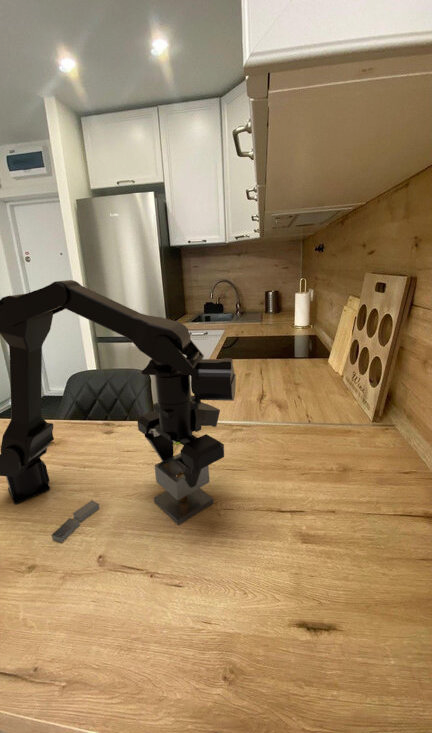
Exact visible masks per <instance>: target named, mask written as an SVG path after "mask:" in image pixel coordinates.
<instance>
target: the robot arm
mask: <svg viewBox="0 0 432 733" xmlns="http://www.w3.org/2000/svg"><path fill="white" fill-rule="evenodd" d="M64 310H67V311H69V312H72V313H74V314H76V315H78V316H80V317H82V318H84V319H86V320H89V321H90V322H93V323H95V324H97V325H99V326H101V327H104V328H105V329H108V330H110V331H111V332H114V333H116V334H118V335H121V336H122V337H124V338H126V339H128V340H129V341H130V342H132V344H134V345H135V347H136V348H137V349H138V350H139V352H142V353H143V354H144V355H145V356H147V357H148V358H150V359H149V362H148V363H147V365H146V366H145V367H144V368H143V369H142V370H141V372H140V373H141V374H142V375H143V376H154V380H155V382H154V383H155V391H156V403H153V404H152V409H153V411H151V412H148V413H145V414H142V415H140V417H139V418H138V420H137V428H138V429H137V430H138V431H139V432H140V433H142V434H143V435H144V438H145V439H146V440H147V441H148V443H149V444H150V445H151V447H152V448H153V450H154V451H155V453H156V455H157V456H158V457H159V459H160V460H161V462H162V461H165V460H167V459H169V458H171V457H173V456H174V444H173V442H174V443H177V442H180V443H181V444H180V445H182V447H181V450H180V453H181V459H178V462H179V465H180V467H181V469H182V471H183V473H184V476H185V478H186V480H187V482H188V484H189V486H190V487H191V488H192V487H194V486H196V484H197V481H198V478H199V475H200V472H201V469H202V468H204V467H206V466H209V465H212V464H214V463H215V462H217V461H220V460H222V459H223V458H224V457H225V444H224V443H222V442H221V441H220V440H218V439H216V438H214V437H212V436H210V435H208V434H207V433H206V434H204V435H201V436H199V437H197V436H195V435H194V434H193V432H195V433H197V432H198V433H199V431H202V427H213V428H216V427H217V424H218V421H219V417H220V414H221V413H220V412H221V409H219V408H217V407H215V406H213V405H210V404H208V403H206V402H205V403H204V402H202V401H222V402H223V401H228V402H231V401H232V402H234V401H235V397H236V385H237V384H236V383H237V381H236V380H237V378H236V377H237V376H236V373H235V367H234V365H233V364H234V363H233V362H234V361H233V360H234V359H233V358H232V357H231V358H230V357H229V358H228V357H225V358H219V359H217V358H216V359H214V358H213V359H212V358H209V359H208V358H205V359H204V356H205V355H204V354H203V353H202V351H201V350H200V349H199V348H198V347H197V345H196V344H195V343H194V342H193V341H192V340H191V335H190V334H191V333H190V331H189V328H188V327H187V326H186V325H184V324H183V323H182V322H179V321H176V320H173V319H169V318H165V317H160V316H154V315H148V314H144V313H141V312H138V311H137V310H134V309H132V308H130V307H129V306H128V307H127V306H126V305H124V304H121V303H119V302H117V301H115V300H113V299H111V298H109V297H107V296H105V295H102V294H100V293H99V292H96V291H93V290H92V289H89V288H87V287H86V286H83V285H82V284H80V282H78V281H76V280H73V279H68V280H59V281H58V280H57V281H53V282H50V284H48V285H46V286H44V287H41V288H39V289H36V290H33V291H30V292H28V293H22V294H15V295H14V294H13V295H6V296H3V297H2V298H0V336H1V337H2V338H3V339H4V341H5V342H6V344H7V345H8V349H9V378H10V379H9V381H10V382H9V383H10V385H9V386H10V387H9V388H10V421H9V423H8V425H7V427H6V429H5V431H4V432H3V435H2V438H1V444H0V477H6V478H5V479H6V482H7V485H8V488H7V489H8V492H9V495H10V498H11V500H12V502H13V504H14V505H17V504H19V503H22V502H24V501H26V500H29V499H31V498H32V499H33V497H36V496H39V495H40V494H43V493H45V492H49V490H50V489H51V487H50V485H49V483H50V476H49V473H48V468H47V465H46V463H45V462H44V460H42V458H41V457H42V456H44V455H45V454H46V453H47V451H48V447H50V445H51V443H52V442H53V441H54V440H55V438H54V436H53V432H54V431H53V430H54V426H55V425H54V423H52V422H47V421H46V420H45V419H44V417H43V415H42V390H43V389H42V387H43V386H42V380H43V379H42V377H43V374H42V373H43V372H42V371H43V370H42V366H43V363H42V362H43V358H42V357H43V356H42V355H43V349H42V348H43V345H44V342H45V341H46V339H47V337H48V335H49V333H50V331H51V327H52V322H53V318H54V315H55V314H58V313H60V312H63V311H64ZM192 394H193V395H192Z"/></svg>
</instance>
